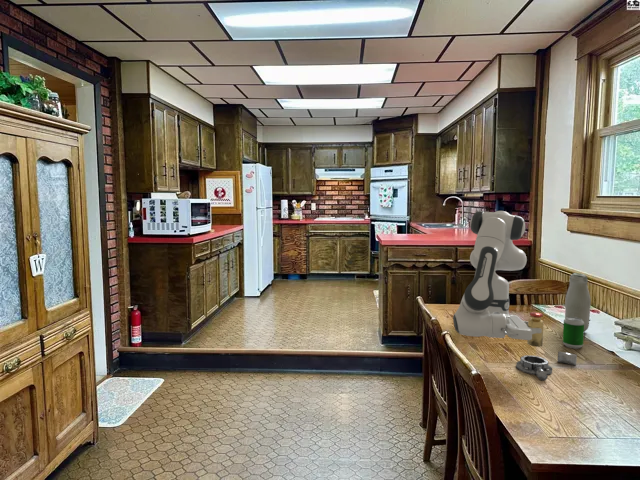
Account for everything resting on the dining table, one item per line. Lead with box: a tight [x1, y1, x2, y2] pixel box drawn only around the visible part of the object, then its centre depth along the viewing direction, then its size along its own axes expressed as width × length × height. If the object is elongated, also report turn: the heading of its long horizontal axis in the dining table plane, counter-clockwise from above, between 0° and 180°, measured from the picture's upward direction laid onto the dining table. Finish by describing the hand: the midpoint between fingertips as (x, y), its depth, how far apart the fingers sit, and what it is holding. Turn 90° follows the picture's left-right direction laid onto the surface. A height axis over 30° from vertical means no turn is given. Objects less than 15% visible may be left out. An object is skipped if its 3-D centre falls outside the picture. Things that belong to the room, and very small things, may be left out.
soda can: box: [562, 317, 585, 350], centre depth 183 cm, size 8×8×12 cm
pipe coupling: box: [557, 351, 577, 366], centre depth 165 cm, size 6×4×4 cm, turn 54°
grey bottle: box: [564, 272, 592, 332], centre depth 201 cm, size 10×10×28 cm
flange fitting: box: [515, 354, 553, 382], centre depth 157 cm, size 12×16×4 cm
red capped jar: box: [526, 311, 544, 348], centre depth 158 cm, size 5×5×12 cm
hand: (538, 327), depth 158 cm, fingers closed on red capped jar, 5 cm apart
